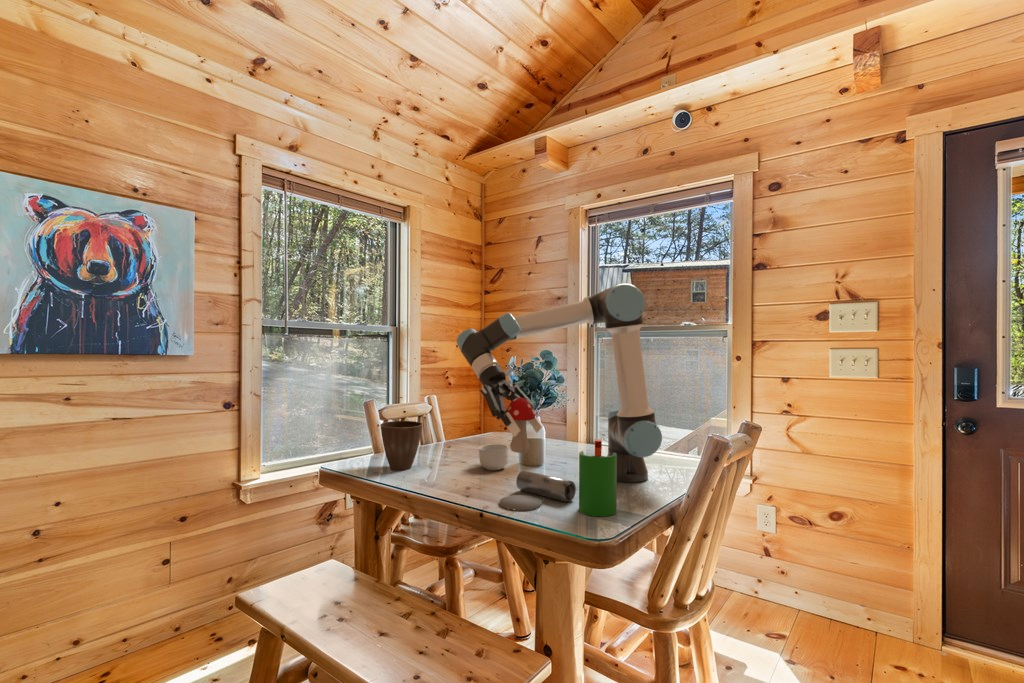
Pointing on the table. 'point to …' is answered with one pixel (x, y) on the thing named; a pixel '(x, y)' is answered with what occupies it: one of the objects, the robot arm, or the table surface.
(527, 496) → the rubber mat
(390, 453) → the plant pot
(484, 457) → the teacup
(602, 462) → the motor
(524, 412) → the decorative mushroom
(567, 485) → the metal pipe
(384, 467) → the table surface
